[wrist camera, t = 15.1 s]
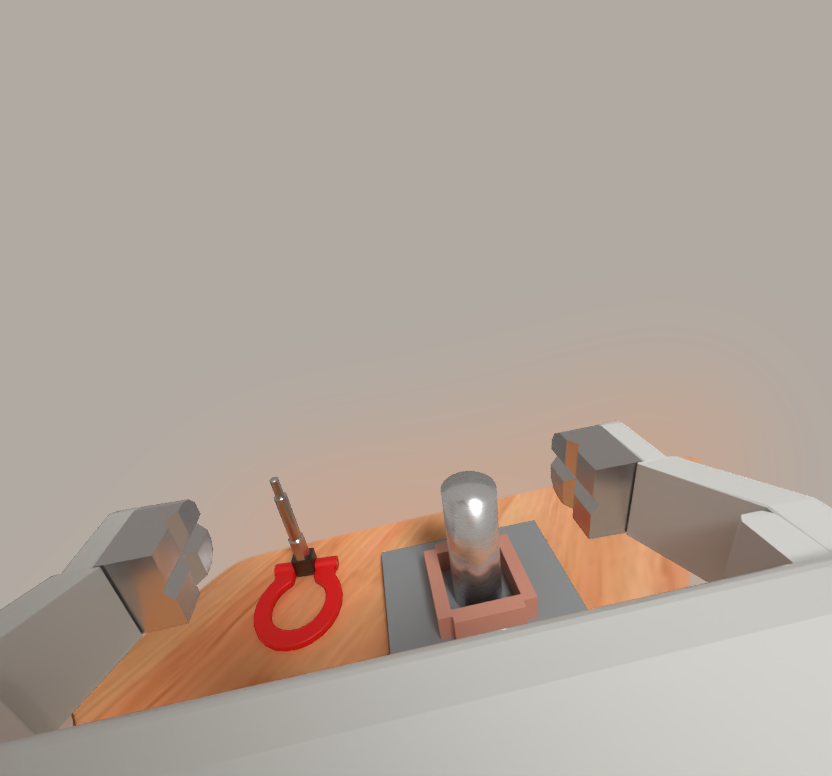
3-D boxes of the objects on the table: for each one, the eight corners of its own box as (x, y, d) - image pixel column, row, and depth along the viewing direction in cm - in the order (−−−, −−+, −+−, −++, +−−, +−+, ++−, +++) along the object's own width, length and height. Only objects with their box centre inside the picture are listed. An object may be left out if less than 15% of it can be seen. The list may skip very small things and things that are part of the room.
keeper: (396, 706, 30) (388, 676, 28) (383, 560, 43) (377, 535, 41) (607, 654, 31) (611, 623, 30) (534, 528, 44) (534, 502, 43)
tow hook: (338, 647, 35) (348, 560, 43) (300, 545, 29) (319, 467, 38) (245, 660, 35) (272, 571, 44) (188, 561, 29) (232, 480, 38)
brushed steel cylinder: (460, 619, 34) (447, 512, 29) (449, 577, 38) (436, 476, 33) (509, 608, 35) (504, 500, 30) (493, 568, 39) (486, 466, 34)
